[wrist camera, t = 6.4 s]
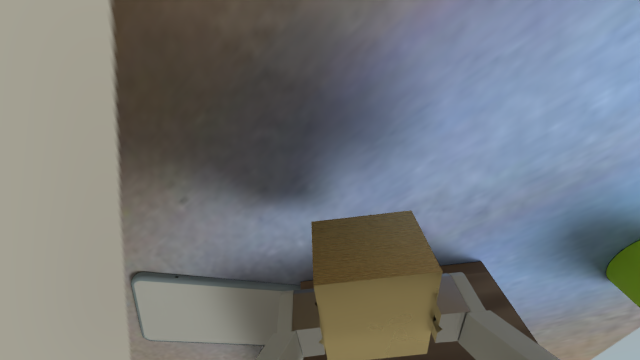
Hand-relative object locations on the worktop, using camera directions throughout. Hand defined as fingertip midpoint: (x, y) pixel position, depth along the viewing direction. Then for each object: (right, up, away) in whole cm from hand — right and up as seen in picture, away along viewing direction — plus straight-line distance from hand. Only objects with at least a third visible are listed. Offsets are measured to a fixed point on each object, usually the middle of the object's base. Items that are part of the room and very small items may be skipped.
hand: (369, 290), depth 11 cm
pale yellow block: (0, +1, +1) cm, 2 cm away
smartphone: (-9, -6, +13) cm, 17 cm away
